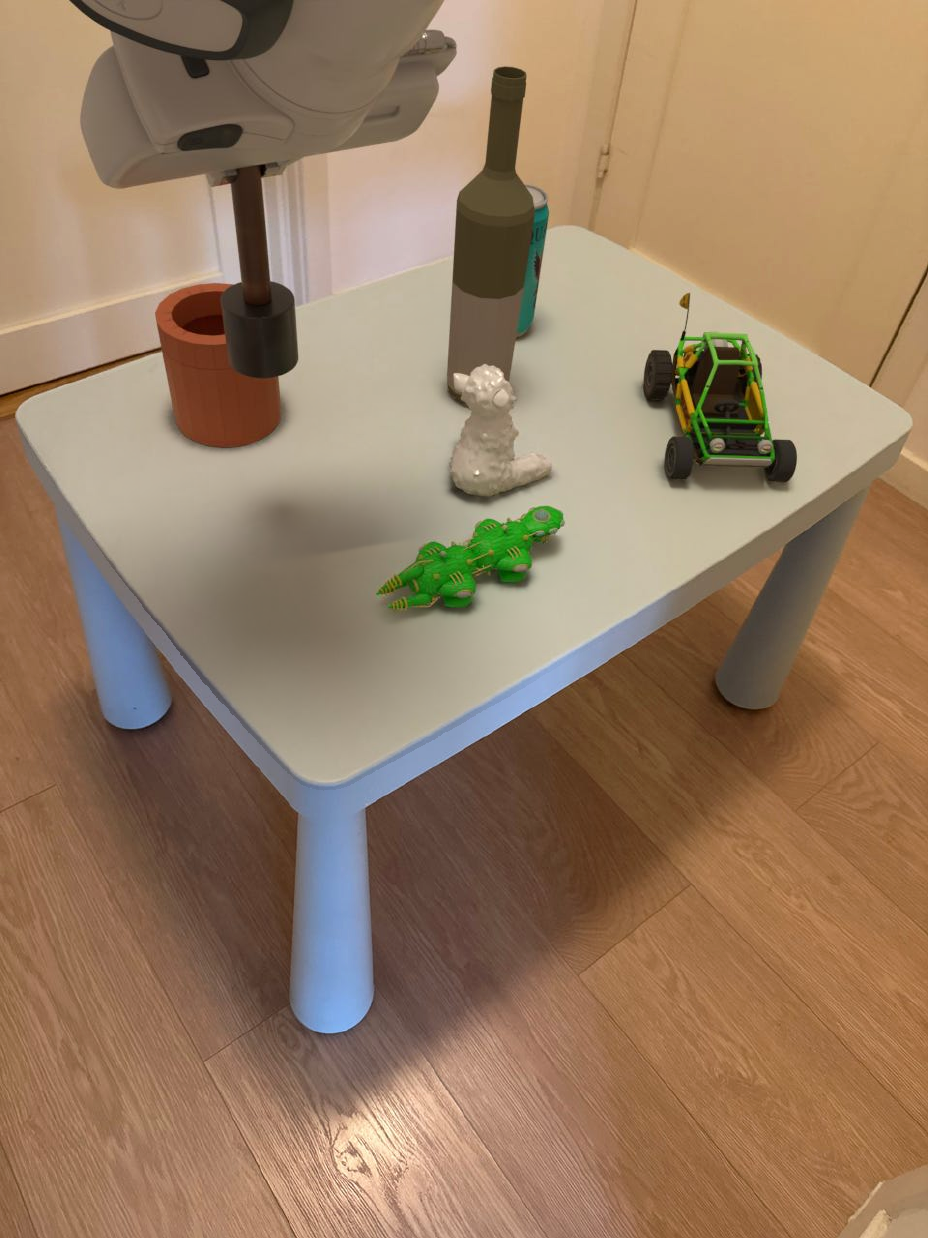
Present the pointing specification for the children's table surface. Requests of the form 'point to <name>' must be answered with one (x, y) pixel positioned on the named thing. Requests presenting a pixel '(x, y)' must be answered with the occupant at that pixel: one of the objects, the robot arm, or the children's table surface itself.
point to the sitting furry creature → (490, 438)
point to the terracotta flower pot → (211, 373)
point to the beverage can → (534, 258)
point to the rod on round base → (257, 292)
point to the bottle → (491, 243)
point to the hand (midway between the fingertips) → (241, 169)
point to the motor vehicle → (717, 406)
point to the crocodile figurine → (474, 559)
